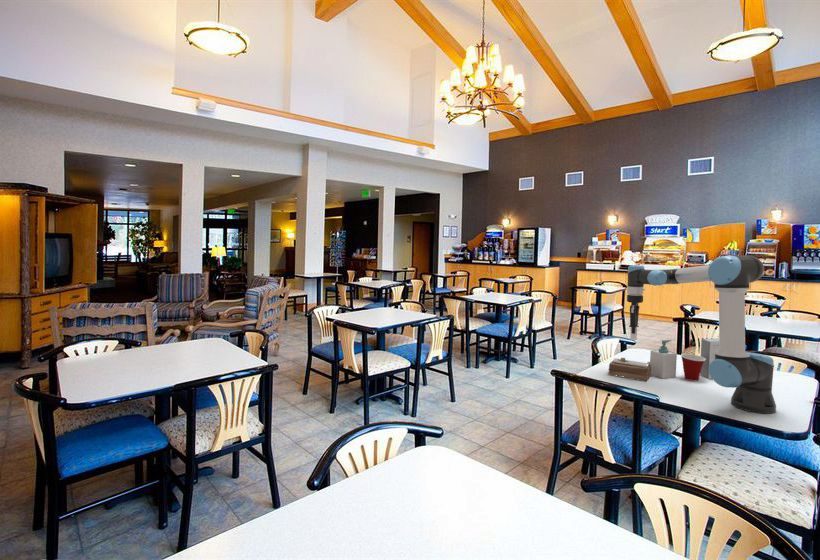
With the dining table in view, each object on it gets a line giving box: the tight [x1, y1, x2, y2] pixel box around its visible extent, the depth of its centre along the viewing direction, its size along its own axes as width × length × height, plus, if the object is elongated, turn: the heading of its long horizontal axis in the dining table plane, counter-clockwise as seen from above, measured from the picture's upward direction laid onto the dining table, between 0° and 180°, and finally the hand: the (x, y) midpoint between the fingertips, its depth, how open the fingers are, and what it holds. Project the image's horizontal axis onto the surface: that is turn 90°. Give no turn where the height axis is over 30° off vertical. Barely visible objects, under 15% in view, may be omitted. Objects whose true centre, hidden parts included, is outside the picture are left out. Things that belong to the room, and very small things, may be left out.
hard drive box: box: [699, 338, 719, 380], centre depth 226 cm, size 16×8×20 cm, turn 84°
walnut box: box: [608, 357, 652, 382], centre depth 230 cm, size 12×18×9 cm
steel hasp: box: [612, 357, 649, 367], centre depth 230 cm, size 6×17×1 cm, turn 53°
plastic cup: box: [680, 353, 706, 381], centre depth 223 cm, size 11×11×12 cm
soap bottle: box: [649, 339, 678, 379], centre depth 229 cm, size 9×9×19 cm
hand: (633, 339), depth 228 cm, fingers closed
